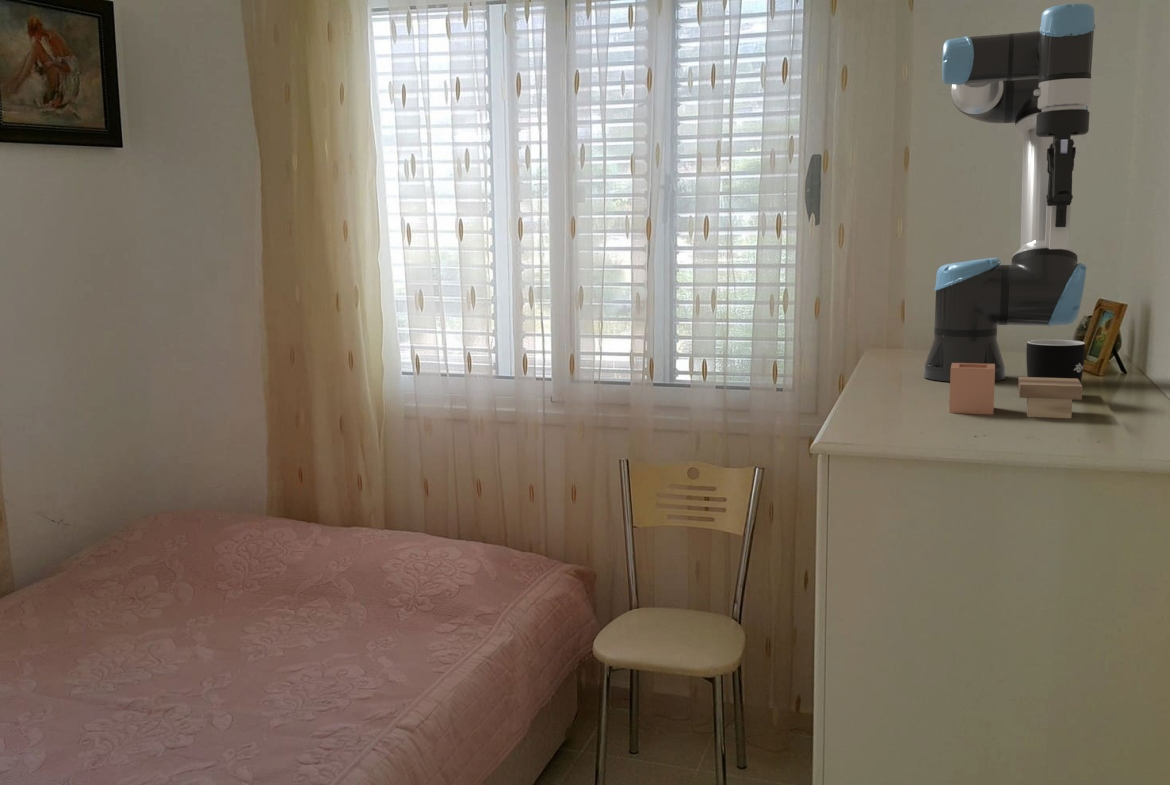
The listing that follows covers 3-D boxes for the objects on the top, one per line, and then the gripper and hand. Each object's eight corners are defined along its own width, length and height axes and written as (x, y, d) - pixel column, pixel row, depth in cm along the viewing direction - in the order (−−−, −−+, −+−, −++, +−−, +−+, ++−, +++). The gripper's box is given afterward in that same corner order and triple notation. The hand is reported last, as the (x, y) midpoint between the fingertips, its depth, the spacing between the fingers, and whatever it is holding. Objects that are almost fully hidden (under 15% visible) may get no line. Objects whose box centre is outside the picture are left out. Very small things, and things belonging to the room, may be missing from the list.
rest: (1025, 416, 159) (1026, 390, 159) (1068, 417, 157) (1069, 392, 156) (1027, 422, 154) (1028, 396, 153) (1071, 424, 152) (1072, 398, 151)
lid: (1018, 389, 160) (1018, 376, 160) (1077, 391, 157) (1077, 378, 157) (1019, 397, 152) (1020, 384, 152) (1081, 399, 149) (1082, 386, 149)
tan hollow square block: (950, 411, 164) (951, 362, 163) (992, 413, 162) (994, 363, 161) (948, 418, 159) (950, 367, 157) (993, 420, 156) (995, 369, 155)
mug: (1079, 407, 166) (1082, 345, 164) (1020, 404, 170) (1022, 344, 169) (1087, 397, 176) (1090, 338, 174) (1031, 393, 180) (1034, 337, 179)
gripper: (1033, 116, 171) (1028, 243, 175) (1040, 105, 149) (1033, 251, 152) (1083, 113, 169) (1076, 242, 172) (1097, 101, 146) (1089, 250, 150)
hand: (1056, 247), depth 163 cm, fingers open, 13 cm apart
